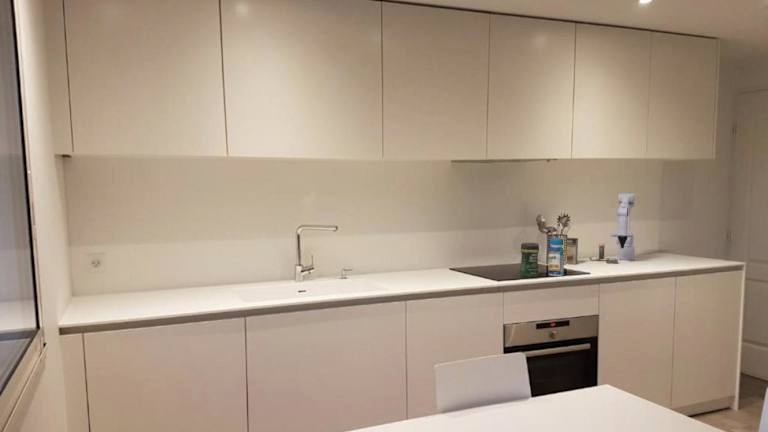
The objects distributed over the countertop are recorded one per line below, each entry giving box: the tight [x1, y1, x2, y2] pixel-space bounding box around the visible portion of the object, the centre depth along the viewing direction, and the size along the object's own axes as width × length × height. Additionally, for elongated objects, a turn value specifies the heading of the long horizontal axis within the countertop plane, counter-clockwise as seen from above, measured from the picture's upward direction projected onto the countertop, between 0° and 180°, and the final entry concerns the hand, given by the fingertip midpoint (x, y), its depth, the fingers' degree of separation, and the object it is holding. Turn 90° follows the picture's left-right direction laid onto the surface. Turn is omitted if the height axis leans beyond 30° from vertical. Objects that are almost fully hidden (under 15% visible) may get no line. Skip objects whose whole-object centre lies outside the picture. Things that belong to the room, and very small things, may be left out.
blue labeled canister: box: [547, 238, 565, 277], centre depth 289 cm, size 8×8×20 cm
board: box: [588, 256, 610, 262], centre depth 343 cm, size 12×10×1 cm
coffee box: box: [566, 237, 579, 265], centre depth 330 cm, size 9×6×16 cm
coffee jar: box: [519, 242, 540, 278], centre depth 286 cm, size 10×8×19 cm
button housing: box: [605, 258, 619, 265], centre depth 331 cm, size 6×6×2 cm
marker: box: [598, 243, 605, 259], centre depth 343 cm, size 3×3×10 cm
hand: (622, 248), depth 330 cm, fingers closed
